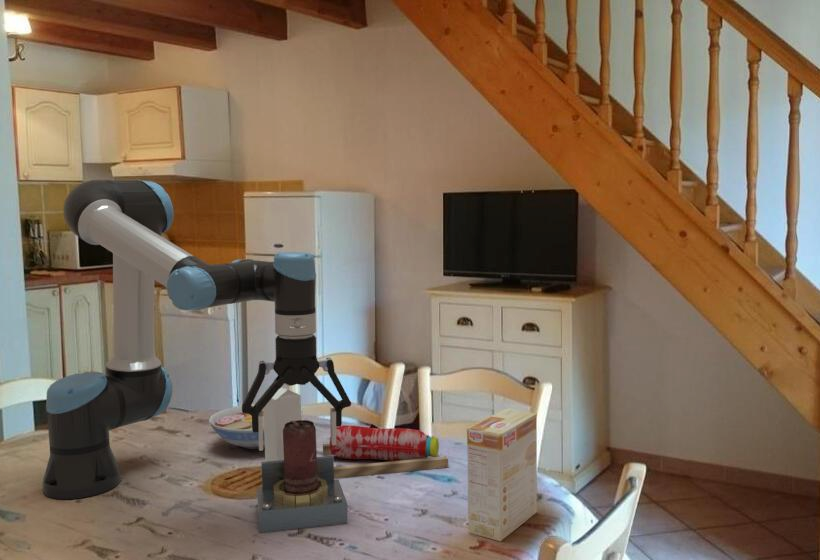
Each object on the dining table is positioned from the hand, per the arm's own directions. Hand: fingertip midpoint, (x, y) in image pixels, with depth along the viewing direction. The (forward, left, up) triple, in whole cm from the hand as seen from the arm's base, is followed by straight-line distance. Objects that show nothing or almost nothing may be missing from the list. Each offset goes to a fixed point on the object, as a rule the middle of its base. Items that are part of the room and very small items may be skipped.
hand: (297, 445), depth 142 cm
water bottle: (+22, +27, -14) cm, 38 cm away
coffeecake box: (+36, -13, -14) cm, 41 cm away
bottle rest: (+21, +26, -14) cm, 36 cm away
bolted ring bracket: (0, 0, -14) cm, 14 cm away
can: (0, -1, -10) cm, 10 cm away
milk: (-2, +19, -14) cm, 23 cm away
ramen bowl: (-7, +45, -14) cm, 47 cm away
